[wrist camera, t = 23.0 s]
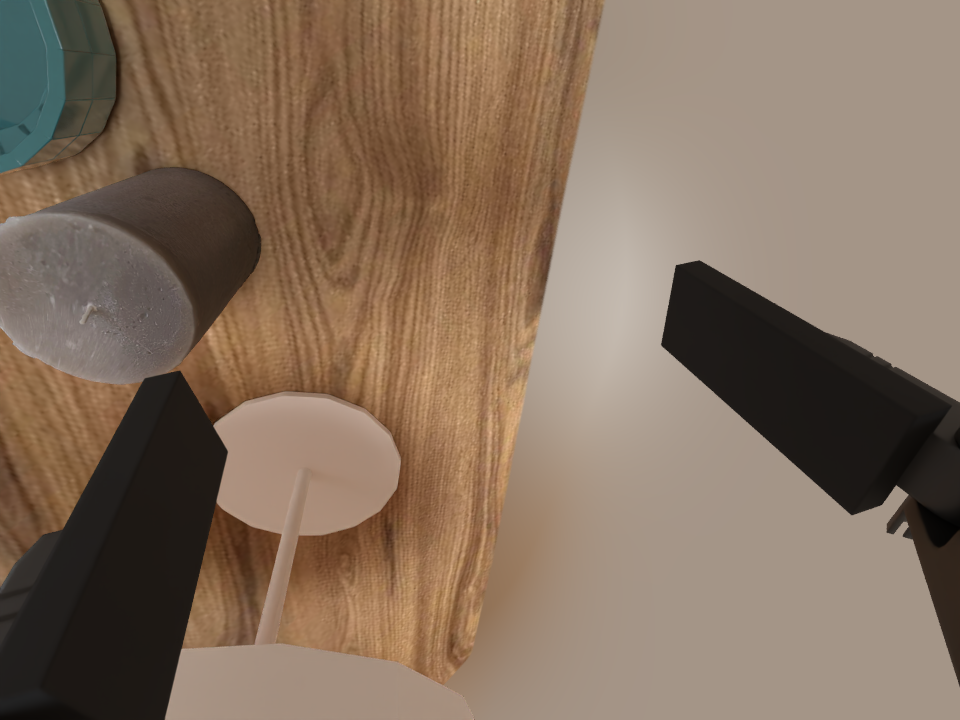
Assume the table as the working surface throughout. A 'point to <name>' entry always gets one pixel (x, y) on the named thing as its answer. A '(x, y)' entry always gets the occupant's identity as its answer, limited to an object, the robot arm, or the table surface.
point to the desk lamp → (291, 512)
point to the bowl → (52, 80)
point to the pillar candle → (125, 274)
